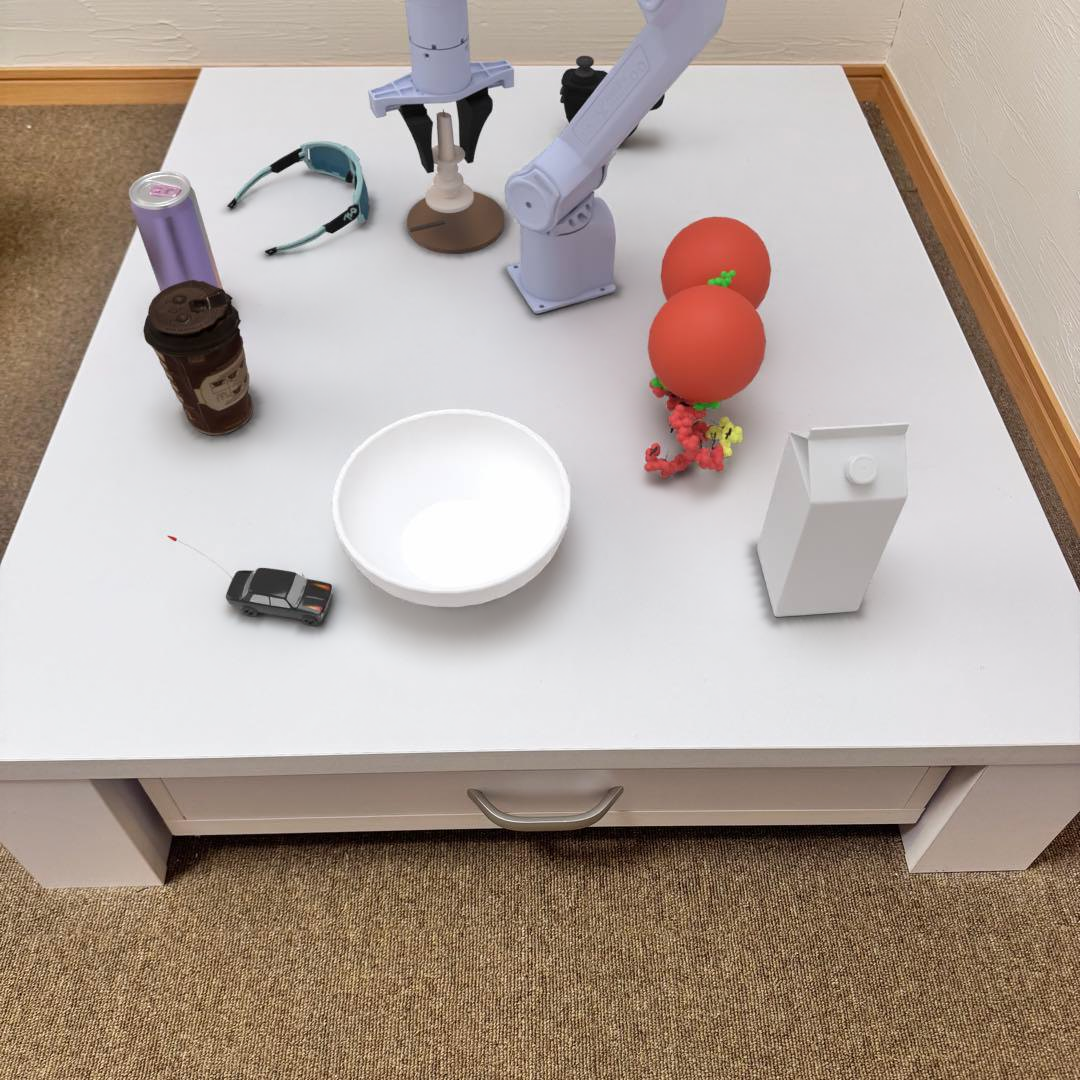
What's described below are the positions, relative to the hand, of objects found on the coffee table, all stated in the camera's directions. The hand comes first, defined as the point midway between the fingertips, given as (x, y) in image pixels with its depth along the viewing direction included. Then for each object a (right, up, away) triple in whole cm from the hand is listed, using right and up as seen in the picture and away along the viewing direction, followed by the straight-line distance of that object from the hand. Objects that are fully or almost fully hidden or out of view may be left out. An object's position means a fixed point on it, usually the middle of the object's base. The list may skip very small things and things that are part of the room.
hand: (447, 162), depth 111 cm
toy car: (-14, -45, -22) cm, 52 cm away
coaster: (0, -4, +9) cm, 10 cm away
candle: (0, -3, +4) cm, 5 cm away
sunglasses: (-17, -2, +11) cm, 20 cm away
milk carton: (+32, -43, -21) cm, 58 cm away
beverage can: (-26, -16, 0) cm, 30 cm away
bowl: (+2, -40, -19) cm, 44 cm away
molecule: (+25, -26, -7) cm, 37 cm away
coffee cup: (-21, -27, -9) cm, 35 cm away
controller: (+18, +9, +19) cm, 28 cm away
